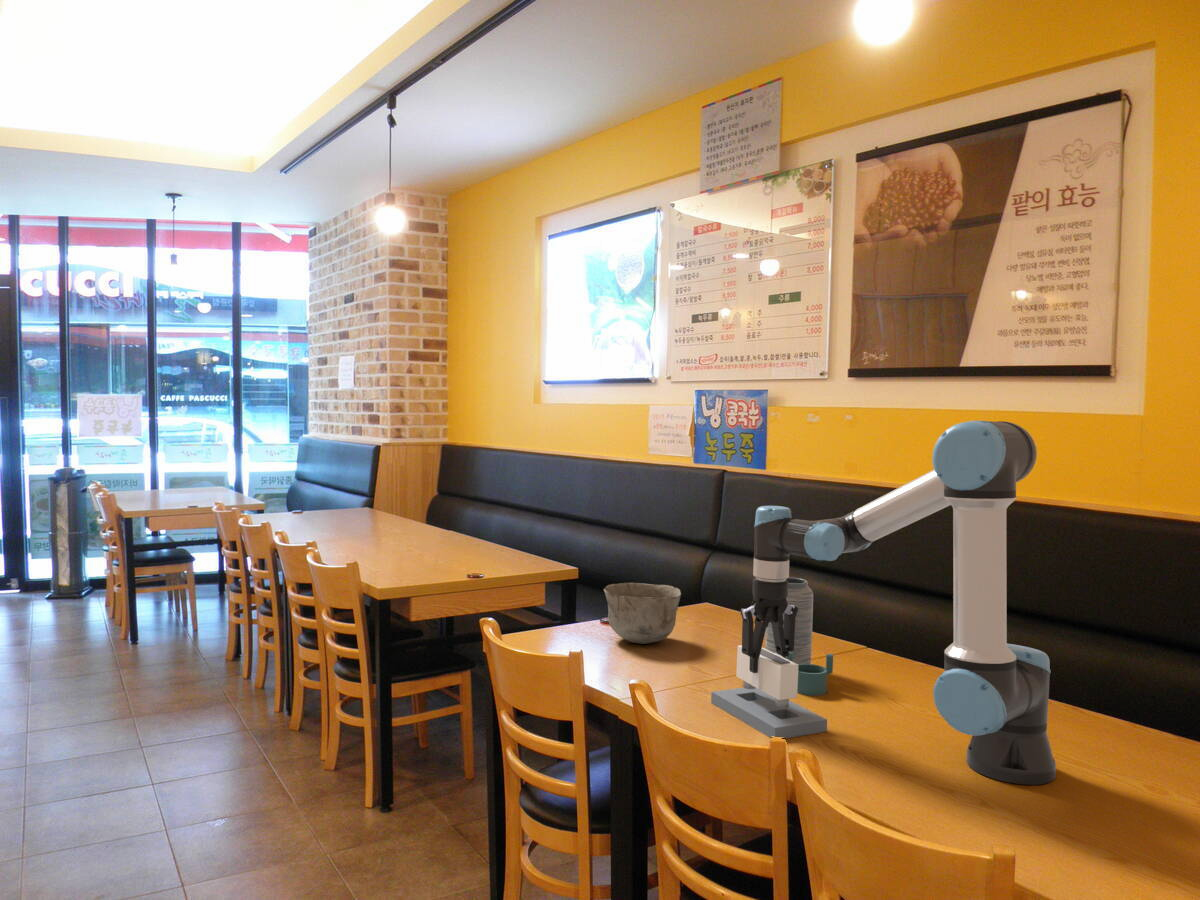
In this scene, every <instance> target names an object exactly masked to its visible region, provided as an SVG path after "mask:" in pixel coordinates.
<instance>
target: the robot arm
mask: <svg viewBox="0 0 1200 900" xmlns="http://www.w3.org/2000/svg"><path fill="white" fill-rule="evenodd" d="M1037 453H1038V452H1037V445H1036V443H1035V440H1034V438H1033V437H1032V435H1031V434H1030V433H1029V431H1027V430H1026V429H1025V428H1024V427H1022V426H1021V425H1019V424H1016V423H1014V422H1011V421H1001V420H1000V421H990V420H977V419H976V420H969V421H963V422H960V423H959V422H958V423H957V424H954V425H951V426H950V427H949V428H947V429H945V431H943V432H942V434H941V435H939V437H938V439H937V440H936V442H935V445H934V446H933V450H932V460H931V461H932V467H933V469H932V470H930V471H928V472H927V473H924V474H923V475H920V476H919V477H917V478H915V479H913V480H911V481H909V482H907V483H905V484H903V485H901V486H899V487H898V488H896V489H893V490H892V491H889V492H888V493H886V494H884V495H881V496H880V497H878V498H876V499H873V500H872V501H870V502H869V503H866V504H864V505H863V506H861V507H858V508H857V509H855V510H853V511H851V512H849V513H847V514H845V515H843V516H841V517H840V516H839V517H835V518H826V519H819V520H806V519H799V518H798V519H796V518H793V517H792V511H791V508H790V507H786V506H781V505H761V506H758V507H757V508H756V511H755V518H754V519H755V520H754V525H753V528H754V529H753V531H754V532H753V533H754V537H753V539H754V544H753V545H754V551H753V552H754V553H753V567H752V568H753V571H752V575H753V577H754V578H752V589H751V591H752V593H751V594H752V597H753V601H751V605H750V606H749V607H747V608H745V607H744V608H743V607H742V608H741V609H740V612H739V613H740V616H741V619H742V620H741V621H742V623H741V624H742V626H741V628H742V629H741V645H742V653H743V654H745V655H747V656H749V657H750V667H749V669H750V671H751V672H752V686H754V687H756V688H757V689H762V664H763V659H762V658H760V653H761V648H763V643H764V641H765V640H764V639H765V631H766V628H767V627H768V624H769V622H770V623H771V624H772V630H773V636H774V642H775V648H776V652H777V653H775V654H777V655H779V656H781V657H783V658H785V656H786V657H787V656H788V655H789V653H788V652H792V651H793V650H794V638H795V617H796V615H797V612H798V607H796V606H793V605H790V604H788V602H787V600H786V598H787V597H788V581H787V580H786V579H787V578H788V577H790V555H792V556H797V557H802V558H808V559H813V560H815V561H827V562H832V561H836V560H837V559H838V558H839V556H841V555H842V554H846V553H857V552H859V551H863V550H865V549H867V548H868V547H870V546H871V545H872V543H873V542H875V541H877V540H879V539H882V538H883V537H885V536H888V535H890V534H892V533H894V532H896V531H899V530H900V529H902V528H905V527H907V526H909V525H911V524H913V523H915V522H918V521H919V520H922V519H925V518H926V517H929V516H930V515H932V514H936V512H939V511H941V510H944V509H945V508H948V507H949V506H951V507H952V511H953V513H952V516H953V517H952V518H953V519H952V526H953V527H952V531H953V532H952V535H953V537H952V538H953V540H952V541H953V542H952V543H953V544H952V545H953V548H952V549H953V552H952V553H953V558H952V561H953V567H952V568H953V572H952V573H953V576H952V577H953V578H952V580H953V587H952V590H953V592H952V593H953V596H952V599H953V601H952V602H953V606H952V607H953V613H952V614H953V616H952V617H953V642H952V643H951V644H950V645H948V646H947V647H946V648H945V649H944V655H943V656H944V662H943V663H944V669H943V670H944V671H943V672H942V673H941V674H940V675H939V677H938V678H937V679H936V681H935V683H934V685H933V689H932V690H933V691H932V693H933V694H932V697H933V702H934V706H935V707H936V710H937V712H938V713H939V715H940V717H942V719H944V721H946V722H947V724H948V725H949V726H950V727H951V728H953V729H954V730H956V731H958V732H960V733H961V734H964V735H966V736H967V735H968V736H971V737H970V741H969V744H968V746H967V748H966V764H967V765H968V767H970V768H971V769H972V770H973V771H975V772H977V773H978V774H981V775H982V776H986V777H988V778H991V779H994V780H997V781H1000V782H1006V783H1009V784H1010V783H1011V784H1017V785H1018V784H1019V785H1029V786H1030V785H1038V786H1039V785H1044V784H1049V783H1051V782H1053V781H1054V780H1055V779H1056V774H1057V773H1056V772H1057V763H1056V760H1055V758H1054V756H1053V751H1052V747H1051V744H1050V740H1049V737H1048V713H1049V697H1050V680H1051V679H1050V677H1051V673H1052V672H1051V671H1052V670H1051V669H1050V666H1051V665H1050V662H1051V661H1050V658H1049V656H1048V654H1047V653H1046V652H1044V651H1042V650H1040V649H1036V648H1032V647H1029V646H1023V645H1019V644H1012V643H1008V642H1007V641H1008V640H1007V639H1008V638H1007V635H1008V633H1007V631H1008V630H1007V627H1008V626H1007V622H1008V621H1007V620H1008V619H1007V616H1008V615H1007V609H1008V608H1007V605H1008V604H1007V595H1008V594H1007V591H1008V589H1007V581H1008V580H1007V579H1008V578H1007V509H1008V507H1009V506H1011V504H1012V503H1014V502H1015V501H1016V500H1017V483H1018V482H1020V481H1022V480H1024V479H1025V478H1026V477H1027V476H1028V475H1029V474H1030V473H1031V472H1032V471H1033V468H1034V466H1035V465H1036V461H1037V455H1038V454H1037ZM784 612H785V614H784V621H783V613H784ZM783 625H784V630H783Z"/></svg>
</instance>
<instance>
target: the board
mask: <svg viewBox="0 0 1200 900" xmlns="http://www.w3.org/2000/svg"><path fill="white" fill-rule="evenodd" d="M710 695H711V700H710V701H711V704H713V705H714V706H716V707H717V708H719V709H721V710H723V711H724V712H726V713H728V714H729V715H731V716H733V717H735V718H736V719H738V720H740V721H741V722H743V723H745V724H747V726H750V727H751V728H753V729H754V730H757V731H759V732H760V733H762V734H764V735H765V736H766V737H768V738H770V737H771V736H775V737H785V739H790V738H795V737H801V736H802V737H803V736H808V735H814V734H819V733H826V732H827V731H828V719H827V718H824V717H823V716H822V715H819V714H818V713H815V712H813V711H811V710H810V709H808V708H805V707H803V706H801V705H799V704H797V703H795V702H793V701H791V700H790V699H789V706H788V707H785V708H782V707H778V706H776V705H775V698H774V697H772V696H771V695H769V694H767V693H765V692H763V691H762V690H760V689H757V688H755V689H746V688H744V687H743V686H742V687H738V688H730V689H723V690H716V691H715V690H714V691H711V694H710Z"/></svg>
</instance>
